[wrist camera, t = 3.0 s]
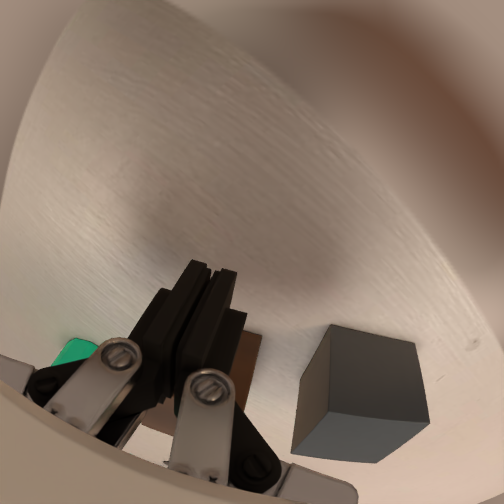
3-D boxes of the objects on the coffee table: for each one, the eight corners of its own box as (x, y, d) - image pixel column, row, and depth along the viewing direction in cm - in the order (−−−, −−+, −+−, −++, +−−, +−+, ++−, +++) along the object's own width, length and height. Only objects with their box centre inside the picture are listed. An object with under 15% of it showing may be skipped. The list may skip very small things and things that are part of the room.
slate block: (330, 323, 15) (327, 411, 11) (415, 343, 14) (430, 423, 10) (300, 379, 17) (290, 454, 13) (373, 393, 17) (376, 463, 13)
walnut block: (171, 308, 16) (131, 381, 12) (262, 335, 16) (242, 417, 12) (170, 361, 19) (141, 424, 15) (245, 384, 19) (227, 453, 15)
